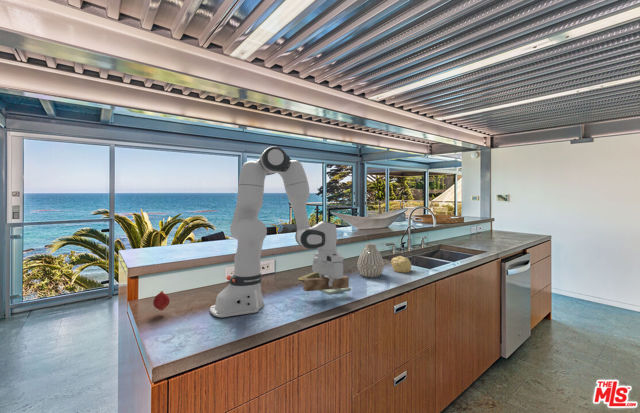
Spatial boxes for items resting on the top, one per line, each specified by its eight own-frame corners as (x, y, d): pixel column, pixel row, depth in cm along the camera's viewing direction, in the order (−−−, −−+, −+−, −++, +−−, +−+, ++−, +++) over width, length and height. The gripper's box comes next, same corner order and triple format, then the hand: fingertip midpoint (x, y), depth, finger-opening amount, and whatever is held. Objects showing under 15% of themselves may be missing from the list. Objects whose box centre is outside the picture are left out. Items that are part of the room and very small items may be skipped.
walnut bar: (305, 291, 133) (305, 280, 133) (303, 289, 136) (303, 278, 136) (348, 287, 141) (348, 277, 141) (345, 285, 144) (345, 275, 144)
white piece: (329, 294, 143) (329, 281, 143) (314, 288, 154) (314, 276, 154) (350, 289, 151) (350, 277, 151) (335, 283, 162) (335, 273, 162)
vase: (389, 277, 176) (389, 244, 176) (370, 281, 167) (370, 246, 167) (370, 272, 190) (370, 241, 189) (351, 275, 181) (352, 243, 180)
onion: (152, 313, 117) (152, 293, 117) (154, 309, 122) (154, 289, 122) (168, 311, 119) (168, 292, 119) (169, 307, 124) (169, 288, 124)
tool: (300, 282, 166) (299, 274, 166) (297, 281, 171) (296, 273, 172) (335, 275, 175) (334, 267, 175) (331, 274, 181) (330, 266, 181)
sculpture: (388, 271, 192) (388, 255, 192) (402, 270, 197) (402, 254, 197) (400, 275, 181) (400, 258, 181) (414, 273, 187) (415, 256, 186)
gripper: (309, 252, 145) (308, 280, 145) (334, 259, 129) (334, 290, 129) (320, 252, 149) (319, 279, 149) (345, 258, 132) (345, 288, 132)
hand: (326, 284), depth 139 cm, fingers closed on walnut bar, 4 cm apart
